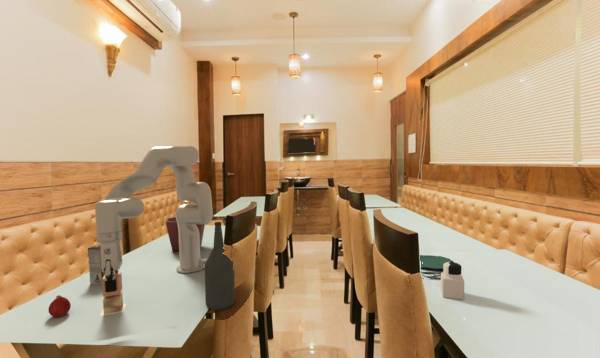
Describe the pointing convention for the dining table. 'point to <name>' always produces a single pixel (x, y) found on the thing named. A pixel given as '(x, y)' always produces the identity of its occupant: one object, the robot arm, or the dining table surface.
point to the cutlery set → (433, 263)
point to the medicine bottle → (452, 281)
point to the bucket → (174, 233)
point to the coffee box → (95, 265)
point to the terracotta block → (118, 283)
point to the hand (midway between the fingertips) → (112, 287)
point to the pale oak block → (112, 303)
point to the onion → (59, 306)
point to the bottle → (219, 275)
